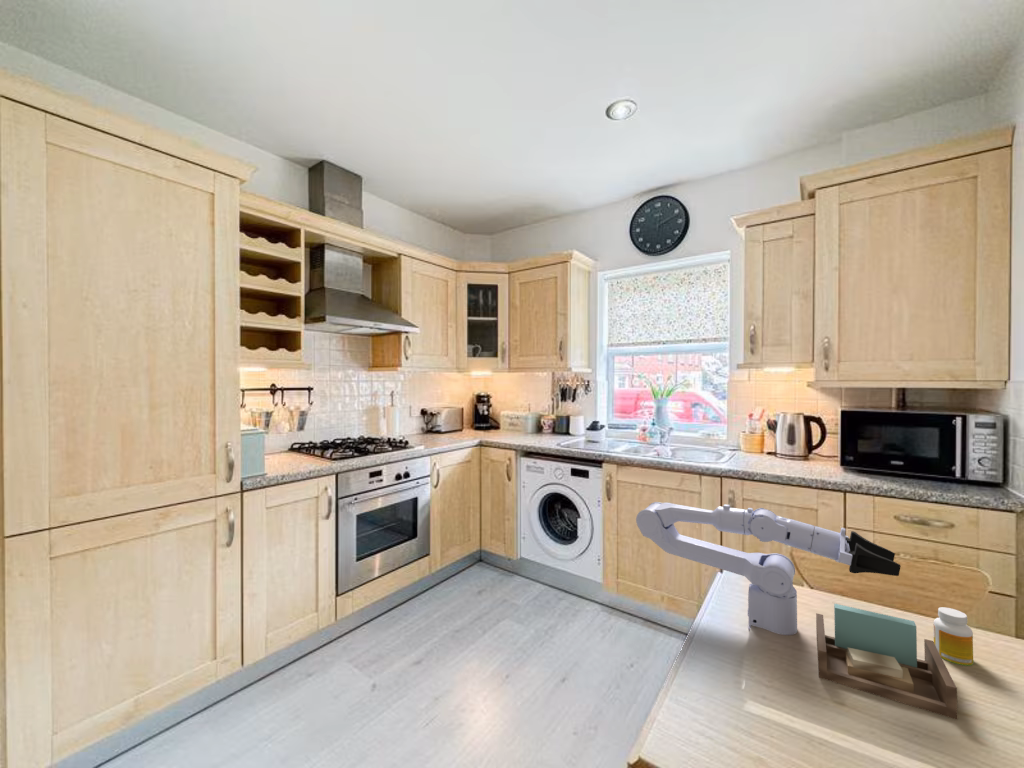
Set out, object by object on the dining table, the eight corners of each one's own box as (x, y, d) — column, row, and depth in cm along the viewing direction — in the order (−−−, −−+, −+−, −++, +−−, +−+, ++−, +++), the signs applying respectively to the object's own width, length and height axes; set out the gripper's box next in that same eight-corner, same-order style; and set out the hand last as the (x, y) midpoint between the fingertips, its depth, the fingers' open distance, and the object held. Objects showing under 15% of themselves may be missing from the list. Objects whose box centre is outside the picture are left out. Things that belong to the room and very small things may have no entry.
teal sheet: (835, 652, 85) (834, 607, 85) (834, 647, 87) (834, 603, 87) (917, 675, 78) (916, 626, 78) (914, 668, 80) (914, 621, 80)
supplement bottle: (981, 672, 80) (981, 621, 80) (948, 669, 81) (947, 618, 81) (958, 654, 86) (957, 606, 86) (926, 651, 87) (926, 604, 87)
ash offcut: (853, 667, 78) (853, 659, 78) (847, 655, 82) (847, 647, 82) (902, 678, 75) (902, 670, 75) (894, 665, 79) (894, 657, 79)
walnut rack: (818, 682, 78) (818, 649, 78) (816, 641, 90) (816, 613, 90) (957, 725, 68) (956, 688, 68) (933, 672, 80) (933, 640, 80)
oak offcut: (847, 673, 79) (847, 665, 79) (845, 659, 83) (845, 651, 83) (913, 692, 74) (913, 684, 74) (907, 676, 78) (907, 668, 78)
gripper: (815, 529, 85) (906, 555, 77) (816, 513, 97) (895, 534, 89) (809, 563, 85) (898, 592, 77) (810, 543, 97) (888, 567, 89)
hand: (896, 564), depth 83 cm, fingers open, 7 cm apart
